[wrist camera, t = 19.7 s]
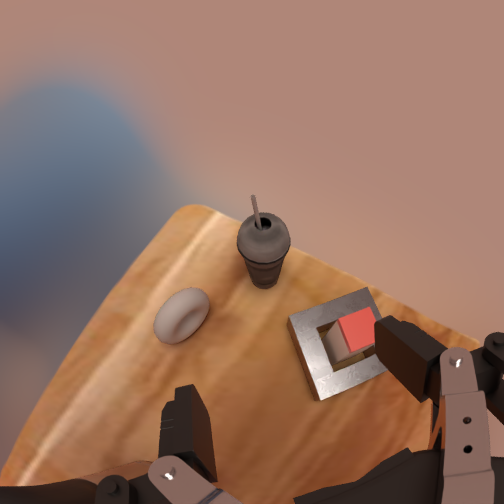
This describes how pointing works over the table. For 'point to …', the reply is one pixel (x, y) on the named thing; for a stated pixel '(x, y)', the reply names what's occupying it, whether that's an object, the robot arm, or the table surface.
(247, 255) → the beverage cup
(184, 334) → the donut
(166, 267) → the table surface
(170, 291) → the table surface
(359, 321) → the plug peg
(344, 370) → the square socket housing
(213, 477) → the robot arm
